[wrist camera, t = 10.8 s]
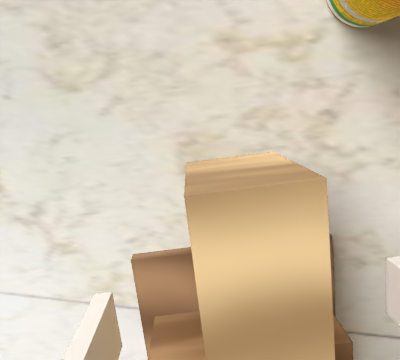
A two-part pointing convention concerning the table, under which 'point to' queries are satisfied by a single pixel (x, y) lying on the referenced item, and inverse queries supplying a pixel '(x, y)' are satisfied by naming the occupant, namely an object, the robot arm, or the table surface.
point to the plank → (261, 258)
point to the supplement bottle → (364, 11)
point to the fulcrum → (187, 307)
